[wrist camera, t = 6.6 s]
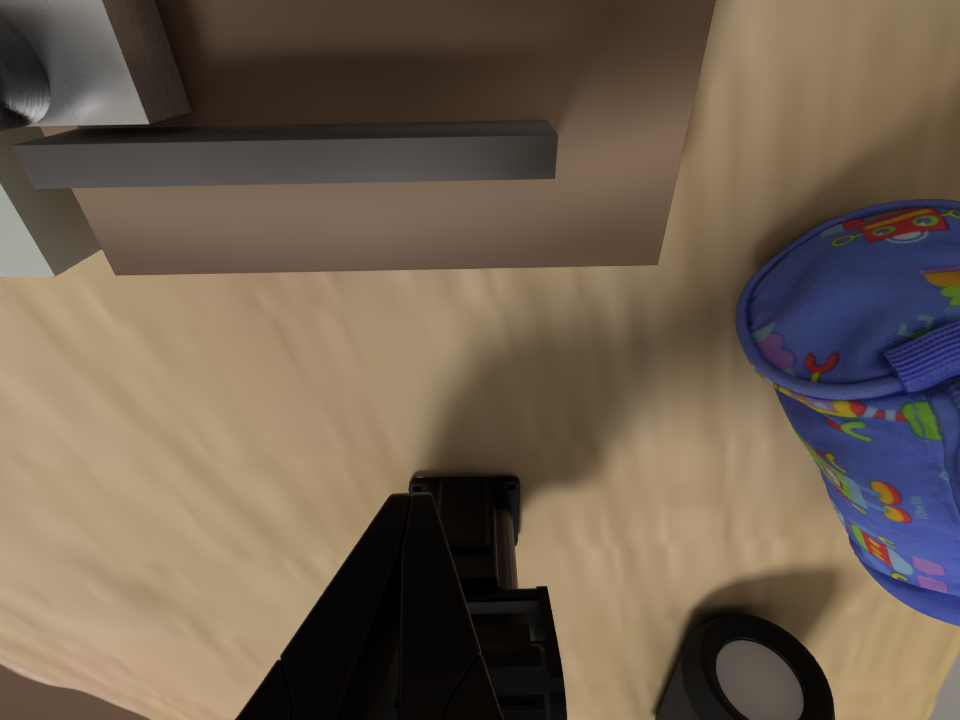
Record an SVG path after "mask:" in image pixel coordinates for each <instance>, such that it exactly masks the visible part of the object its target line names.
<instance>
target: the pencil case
mask: <svg viewBox="0 0 960 720" xmlns="http://www.w3.org/2000/svg"><path fill="white" fill-rule="evenodd" d="M736 330H737V334H738V337H739V340H740V343H741V345H742V348H743V350H744V352H745V354H746V357H747V359H748V361H749V362H750V364H751V366H752V367H753V368H754V369H755V370H756V372H757V373H758V374H759V375H760V376H761V377H762V378H763V379H764V380H765V381H766V382H768V383H769V384H770V385H771V386H773V387H774V389H775V391H776V393H777V395H778V398H779V400H780V402H781V404H782V406H783V408H784V411H785V413H786V415H787V417H788V419H789V421H790V423H791V425H792V427H793V428H794V430H795V432H796V434H797V435H798V436H799V438H800V439H801V441H802V442H803V443H804V445H805V446H806V447H807V449H808V450H809V451H810V453H811V455H812V456H813V458H814V460H815V462H816V463H817V465H818V467H819V468H820V471H821V475H822V478H823V480H824V482H825V485H826V488H827V492H828V494H829V497H830V499H831V502H832V504H833V507H834V509H835V511H836V513H837V515H838V517H839V518H840V520H841V522H842V524H843V526H844V528H845V530H846V531H847V533H848V534H849V541H850V544H851V546H852V548H853V550H854V553H855V555H856V556H857V557H858V559H859V560H860V562H861V563H862V565H863V566H864V567H865V568H866V570H867V571H868V572H869V574H870V575H871V576H872V577H873V578H874V579H875V580H876V581H877V582H878V583H879V584H880V585H881V586H882V587H883V588H884V589H886V590H887V591H888V592H889V593H890V594H892V595H893V596H894V597H896V598H897V599H898V600H900V601H901V602H903V603H905V604H906V605H908V606H910V607H911V608H913V609H915V610H917V611H919V612H921V613H923V614H925V615H928V616H930V617H932V618H935V619H938V620H941V621H944V622H947V623H950V624H953V625H957V626H960V201H954V200H943V199H915V200H902V201H895V202H889V203H883V204H878V205H873V206H870V207H866V208H863V209H859V210H857V211H854V212H852V213H849V214H847V215H844V216H840V217H836V218H833V219H831V220H829V221H827V222H824V223H822V224H820V225H818V226H816V227H815V228H813V229H812V230H810V231H809V232H808V233H806V234H805V235H803V236H802V237H800V238H799V239H797V240H796V241H794V242H793V243H792V244H790V245H789V246H787V247H786V248H785V249H784V250H783V251H782V252H780V253H779V254H777V255H776V256H775V257H773V258H772V259H771V260H769V261H768V262H767V263H766V264H764V265H763V266H762V267H761V268H760V269H759V270H758V271H757V272H756V273H755V274H754V275H753V276H752V277H751V279H750V280H749V281H748V283H747V284H746V285H745V287H744V289H743V291H742V293H741V295H740V297H739V300H738V303H737V307H736Z"/></svg>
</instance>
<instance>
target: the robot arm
mask: <svg viewBox="0 0 960 720" xmlns="http://www.w3.org/2000/svg"><path fill="white" fill-rule="evenodd" d="M417 486H418V487H417ZM519 504H520V480H519V479H518V478H517V477H514V476H498V477H447V478H414V479H412V480H411V481H410V482H409V493H394V494H391V495H390V496H389V497H388V499H387V500H386V502H385V503H384V504H383V506H382V507H381V509H380V510H379V512H378V513H377V515H376V516H375V518H374V519H373V521H372V522H371V523H370V525H369V526H368V528H367V529H366V531H365V532H364V534H363V535H362V537H361V538H360V540H359V541H358V543H357V544H356V545H355V547H354V548H353V550H352V551H351V553H350V554H349V556H348V557H347V559H346V560H345V562H344V563H343V565H342V566H341V567H340V569H339V570H338V572H337V573H336V575H335V576H334V578H333V579H332V581H331V582H330V584H329V585H328V586H327V588H326V589H325V591H324V592H323V594H322V595H321V597H320V598H319V600H318V601H317V603H316V604H315V606H314V607H313V608H312V610H311V611H310V613H309V614H308V616H307V617H306V619H305V620H304V622H303V623H302V625H301V626H300V628H299V629H298V630H297V632H296V633H295V635H294V636H293V638H292V639H291V641H290V642H289V644H288V645H287V647H286V648H285V649H284V651H283V652H282V654H281V656H280V658H281V660H277V661H276V662H275V664H274V665H273V667H272V668H271V670H270V671H269V673H268V674H267V676H266V677H265V679H264V680H263V681H262V683H261V684H260V686H259V687H258V689H257V690H256V691H255V693H254V694H253V695H252V697H251V698H250V700H249V701H248V702H247V704H246V705H245V707H244V708H243V709H242V711H241V712H240V714H239V715H238V716H237V718H236V719H235V720H567V710H566V697H565V687H564V678H563V671H562V664H561V658H560V653H559V647H558V642H557V637H556V631H555V626H554V621H553V615H552V610H551V605H550V599H549V594H548V589H547V586H536V588H531V589H518V581H517V569H516V556H515V546H516V545H517V542H518V523H519Z"/></svg>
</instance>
